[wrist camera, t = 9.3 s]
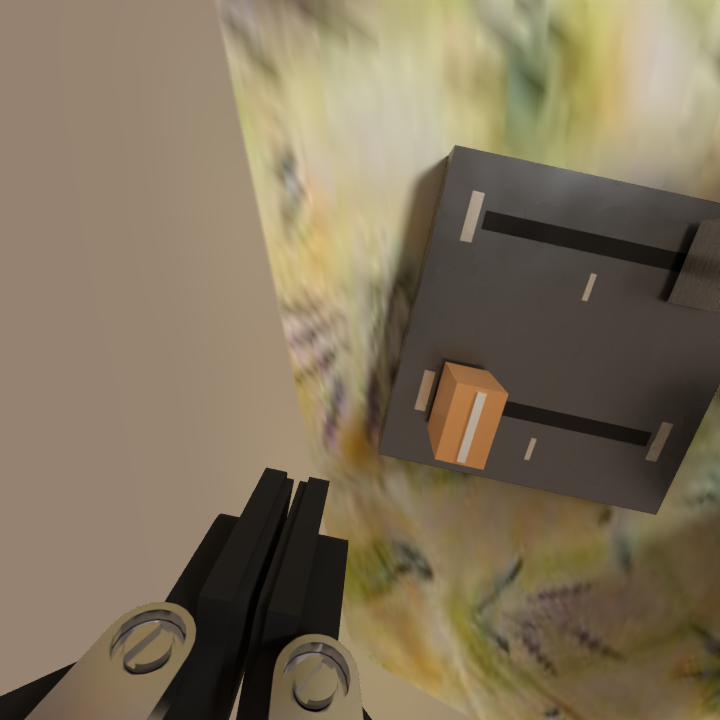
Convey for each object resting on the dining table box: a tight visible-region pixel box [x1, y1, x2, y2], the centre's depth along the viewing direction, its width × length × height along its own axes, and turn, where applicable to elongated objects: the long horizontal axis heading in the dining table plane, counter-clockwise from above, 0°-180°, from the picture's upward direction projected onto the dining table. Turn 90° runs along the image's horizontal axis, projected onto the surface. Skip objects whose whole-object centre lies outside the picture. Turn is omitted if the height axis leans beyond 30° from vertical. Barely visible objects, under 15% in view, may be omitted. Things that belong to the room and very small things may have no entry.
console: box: [378, 145, 720, 515], centre depth 23 cm, size 17×17×2 cm
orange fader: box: [427, 362, 508, 470], centre depth 20 cm, size 2×4×4 cm, turn 168°
